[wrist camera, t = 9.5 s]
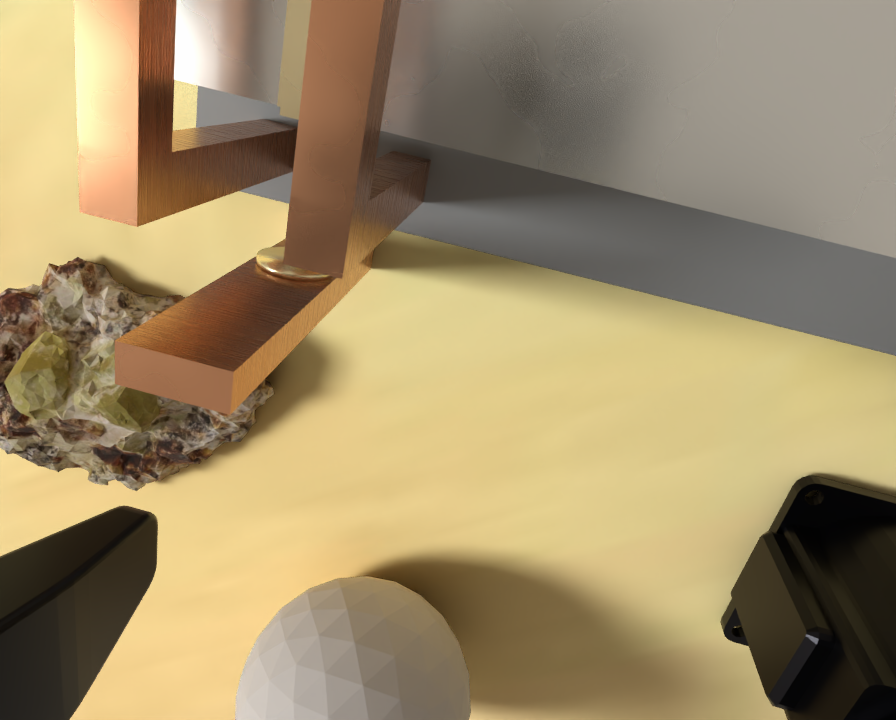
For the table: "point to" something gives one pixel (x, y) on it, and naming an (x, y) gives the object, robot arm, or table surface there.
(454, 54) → the grey long block
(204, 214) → the table surface
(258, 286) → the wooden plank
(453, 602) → the table surface
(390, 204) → the collar
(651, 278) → the board
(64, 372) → the mineral rock
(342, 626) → the white faceted ball
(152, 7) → the angle bracket
